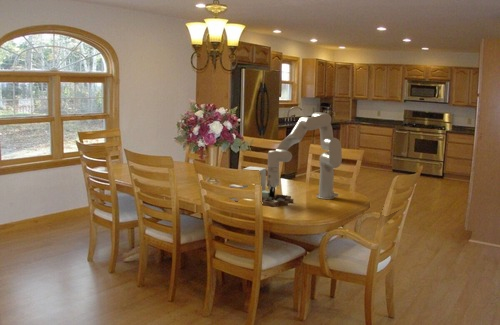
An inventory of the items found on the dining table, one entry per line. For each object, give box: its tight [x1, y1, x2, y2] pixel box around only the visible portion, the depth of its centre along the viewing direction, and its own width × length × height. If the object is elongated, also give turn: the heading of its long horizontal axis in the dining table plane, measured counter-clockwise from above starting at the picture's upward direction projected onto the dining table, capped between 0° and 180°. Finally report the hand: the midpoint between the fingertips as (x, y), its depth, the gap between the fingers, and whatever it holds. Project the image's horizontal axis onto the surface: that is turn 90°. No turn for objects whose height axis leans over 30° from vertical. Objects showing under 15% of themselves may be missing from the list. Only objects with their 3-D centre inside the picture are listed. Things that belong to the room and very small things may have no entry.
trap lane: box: [261, 193, 294, 208], centre depth 324 cm, size 23×24×5 cm
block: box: [262, 189, 273, 202], centre depth 327 cm, size 6×6×6 cm
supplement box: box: [241, 165, 267, 191], centre depth 349 cm, size 13×13×18 cm
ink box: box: [228, 184, 243, 202], centre depth 315 cm, size 8×5×12 cm, turn 47°
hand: (272, 196), depth 325 cm, fingers closed
